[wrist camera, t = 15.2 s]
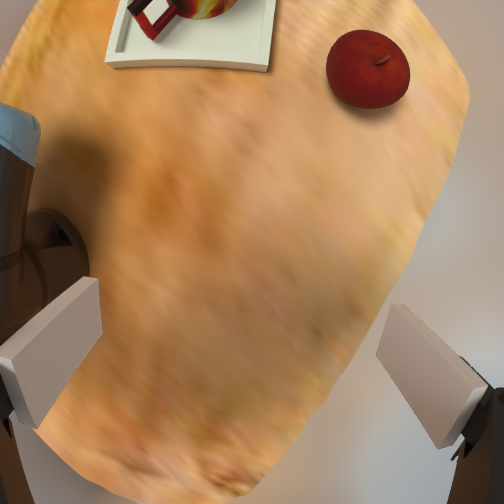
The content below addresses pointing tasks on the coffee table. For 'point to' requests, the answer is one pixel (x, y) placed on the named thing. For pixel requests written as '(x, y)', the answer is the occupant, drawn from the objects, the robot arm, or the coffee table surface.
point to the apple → (367, 69)
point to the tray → (195, 38)
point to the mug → (177, 12)
